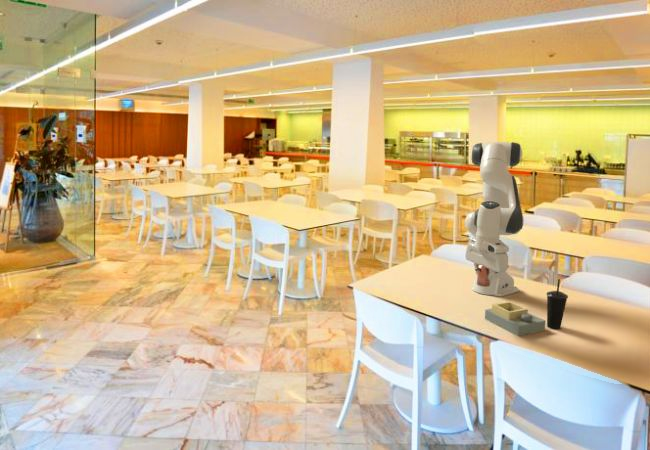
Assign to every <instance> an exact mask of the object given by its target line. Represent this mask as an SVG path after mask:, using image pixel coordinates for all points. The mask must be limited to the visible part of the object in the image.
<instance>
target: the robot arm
mask: <svg viewBox="0 0 650 450" xmlns="http://www.w3.org/2000/svg"><path fill="white" fill-rule="evenodd" d="M522 149H523V148H522V147H521V145H520V143H518V142H515V141H514V142H513V141H512V142H508V141H507V142H505V141H494V142H484V143H482V142H479V143H476V144H474V145H472V149H471V151H470V160H471V163H472V164H473V165H474V166H478V167H479V176H480V178H481V180H482V199H483V202H480V204H479V207H478V208H477V210H476V211H473V212H469V213H468V214H467V215H466V217H465V220H464V226H465V229H466V231H467V232H468V233H470V234H471V235H472V236H473V237H474V238H470V239H468V242H467V246H466V250H465V260H466V261H469V262H471V263H473V266H474V269H475V268H478V264H479V265H481V266H483V267H486V268H488V269H489V271H490V273H489V275H487V279H489V280H490V286H488V287H483V286H479V285H477V275H478V271H475V277H474V282H473V284H472V288H471V289H472V291H474V292H475V293H478V294H482V295H487V296H495V297H505V296H508V295H511V294H514V293H518V292H520V289H519V287H517V286H515V279H514V278H513V276H511V275H510V274H509V273H508V272H507V270H508V268H509V255H508V252H509V251H510V247H509V246H508V245H507V244H505V243H504V242H503V241H502V240H501V239H500V236H511V235H517V234H519V233H520V232H521V230H523V227H524V223H525V221H524V215H523V211H522V207H521V200H520V194H519V190H518V189H519V188H518V186H517V185H518V184H517V179H516V178H515V176H514V175H512V174H511V173H510V172H509V170H508V167H510V169H511V170H512V169H513V167H516V166H517V165H519V164H520V162H521V160H522V159H523V150H522Z"/></svg>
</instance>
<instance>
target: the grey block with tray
mask: <svg viewBox="0 0 650 450" xmlns="http://www.w3.org/2000/svg"><path fill="white" fill-rule="evenodd" d="M484 320H486V321H488V322H489V323H492V324H493V325H496V326H498V327H499V328H502V329H504V330H505V331H506V332H507V331H508V332H510V333H511V334H513V335H515V336H517V337H519V336H525V335H529V334H534V333H539V332H542V331H546V323H547V320H544V319H542V318H540V317H538V316H536V315H534V314H531V313H529V312H528V308H526V307H525V306H522V305H519V304H517V303H514V302H513V301H510V300H509V301H504V302H498V303H494V304H491V308H488V309H485V311H484Z"/></svg>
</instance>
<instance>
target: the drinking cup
mask: <svg viewBox="0 0 650 450" xmlns="http://www.w3.org/2000/svg"><path fill="white" fill-rule="evenodd" d="M560 283H561V279H560V278H557V285H556V286H557V287H556V290H552V291H548V292H546V298H547V299H546V305H547V306H546V311H547V312H546V326H547V328H548V329H552V330H560V329H561V327H562V322H563V318H564V315H565V308H566V304H567V300H568V298H569V295H568V294H567V293H565V292H562V291H560Z"/></svg>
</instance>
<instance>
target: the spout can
mask: <svg viewBox="0 0 650 450" xmlns="http://www.w3.org/2000/svg"><path fill="white" fill-rule="evenodd" d="M474 271H475V272H476V271H478V275H477V285H479V286H483V287H488V286H490V280H489V279H487V275H489V273H490V271H489V269H488V268H486V267H483V266H481V265H479V264H478V268H475V267H474Z"/></svg>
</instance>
